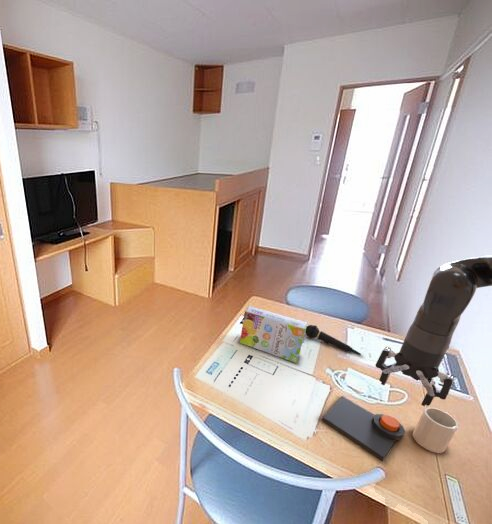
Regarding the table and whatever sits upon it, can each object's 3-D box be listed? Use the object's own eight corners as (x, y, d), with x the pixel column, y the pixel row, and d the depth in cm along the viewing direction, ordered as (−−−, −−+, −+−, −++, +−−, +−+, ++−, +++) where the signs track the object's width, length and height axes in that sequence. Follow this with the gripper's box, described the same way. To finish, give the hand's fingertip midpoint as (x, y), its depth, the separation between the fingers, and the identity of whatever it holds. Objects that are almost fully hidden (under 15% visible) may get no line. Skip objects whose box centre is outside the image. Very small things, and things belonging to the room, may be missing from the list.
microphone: (357, 359, 117) (303, 333, 129) (364, 346, 116) (309, 321, 127) (356, 363, 113) (301, 335, 124) (364, 349, 112) (307, 323, 123)
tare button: (399, 426, 84) (401, 422, 83) (394, 434, 81) (396, 429, 81) (382, 416, 87) (384, 412, 86) (377, 424, 84) (379, 419, 84)
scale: (404, 434, 84) (408, 426, 83) (387, 464, 77) (390, 456, 76) (342, 397, 96) (344, 390, 95) (321, 420, 88) (324, 412, 87)
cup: (447, 443, 82) (461, 419, 78) (441, 458, 78) (455, 433, 75) (416, 426, 87) (428, 403, 83) (409, 439, 83) (421, 415, 80)
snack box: (299, 355, 115) (308, 321, 109) (296, 364, 110) (305, 329, 104) (243, 336, 126) (248, 304, 120) (238, 343, 121) (244, 310, 115)
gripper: (385, 334, 76) (366, 383, 83) (463, 365, 66) (434, 419, 72) (395, 324, 81) (376, 371, 87) (469, 352, 70) (442, 404, 76)
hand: (402, 393), depth 80 cm, fingers open, 8 cm apart
